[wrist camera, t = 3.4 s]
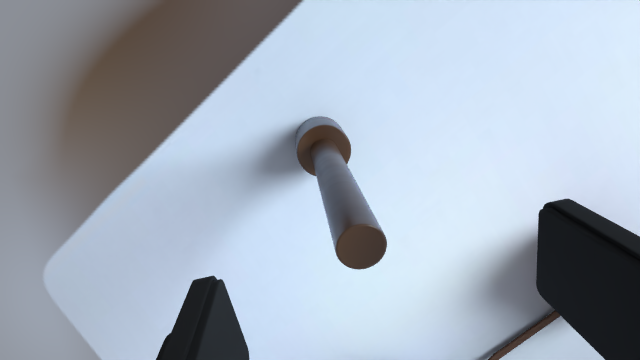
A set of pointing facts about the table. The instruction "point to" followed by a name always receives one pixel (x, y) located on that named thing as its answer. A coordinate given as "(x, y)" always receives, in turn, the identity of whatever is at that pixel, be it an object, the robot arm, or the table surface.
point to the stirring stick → (340, 193)
